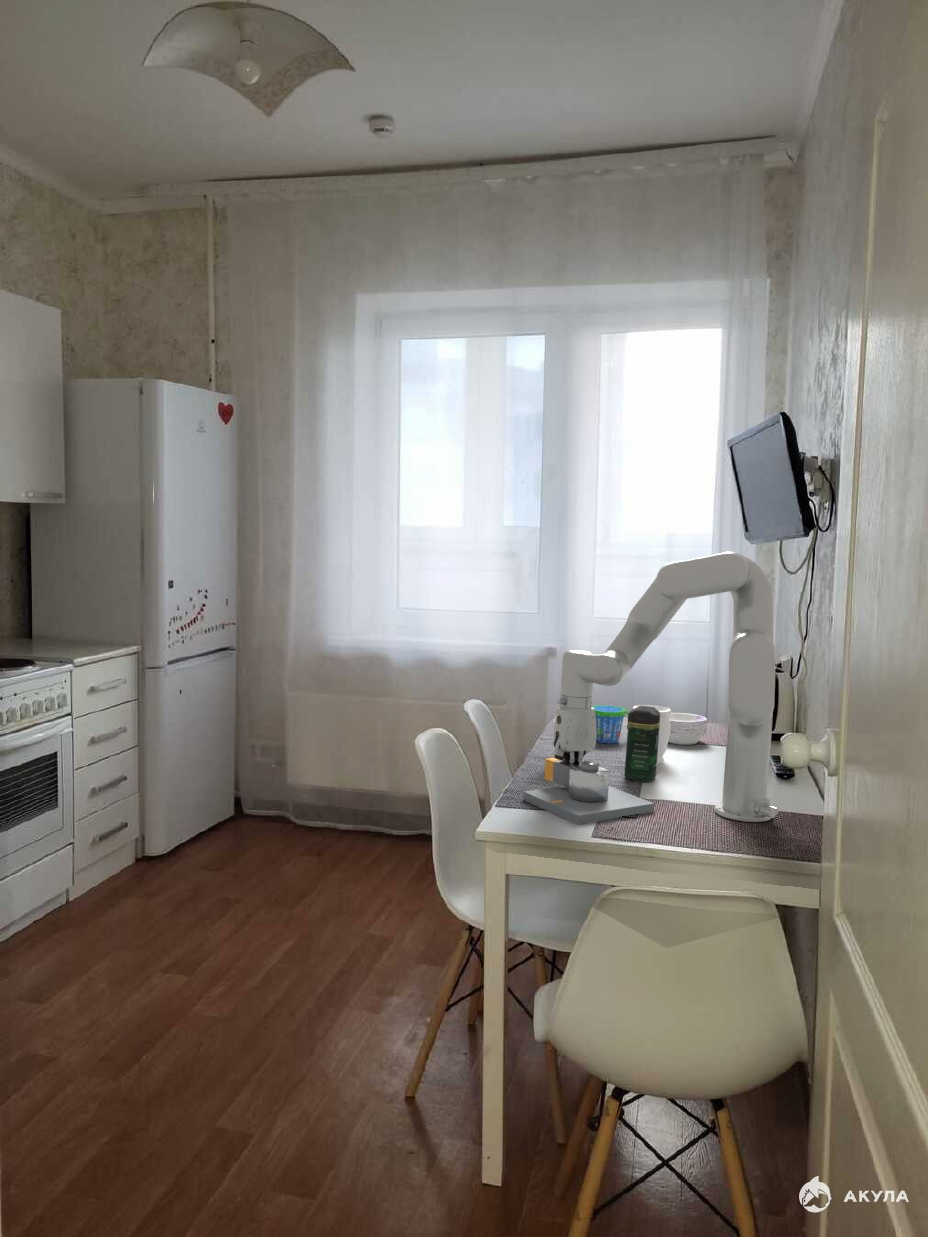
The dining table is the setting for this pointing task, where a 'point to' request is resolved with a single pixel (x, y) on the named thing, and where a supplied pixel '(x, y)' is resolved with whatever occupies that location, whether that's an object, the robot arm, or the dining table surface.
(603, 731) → the snack cup
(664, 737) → the white cup
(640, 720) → the coffee jar
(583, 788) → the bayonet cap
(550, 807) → the mounting board
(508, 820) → the dining table surface
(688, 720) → the white round hollow piece
